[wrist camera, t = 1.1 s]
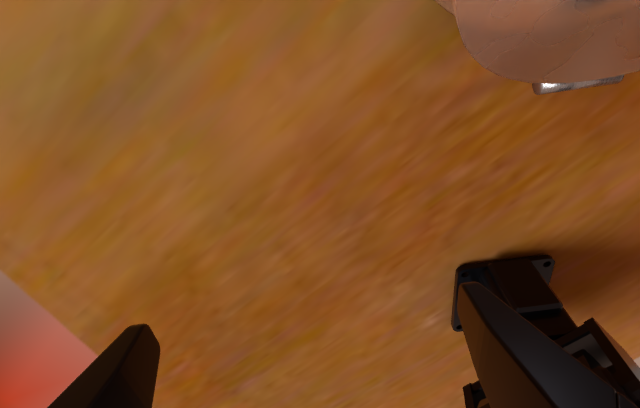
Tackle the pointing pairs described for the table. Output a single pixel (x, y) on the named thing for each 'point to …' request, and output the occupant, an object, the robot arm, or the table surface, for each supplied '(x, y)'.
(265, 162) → the table surface
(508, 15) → the cooker lid
